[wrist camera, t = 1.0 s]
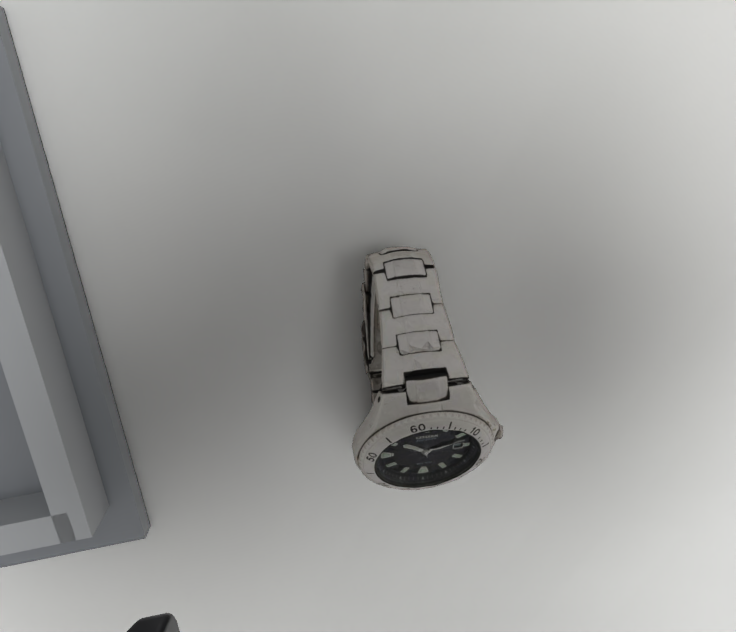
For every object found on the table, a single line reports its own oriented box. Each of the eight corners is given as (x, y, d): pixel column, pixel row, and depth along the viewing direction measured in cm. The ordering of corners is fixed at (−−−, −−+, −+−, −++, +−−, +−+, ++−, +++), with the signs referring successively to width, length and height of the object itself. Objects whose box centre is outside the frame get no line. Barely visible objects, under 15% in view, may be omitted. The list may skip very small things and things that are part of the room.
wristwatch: (346, 452, 18) (365, 554, 14) (325, 243, 17) (338, 275, 12) (463, 437, 19) (521, 532, 14) (452, 231, 17) (514, 257, 12)
